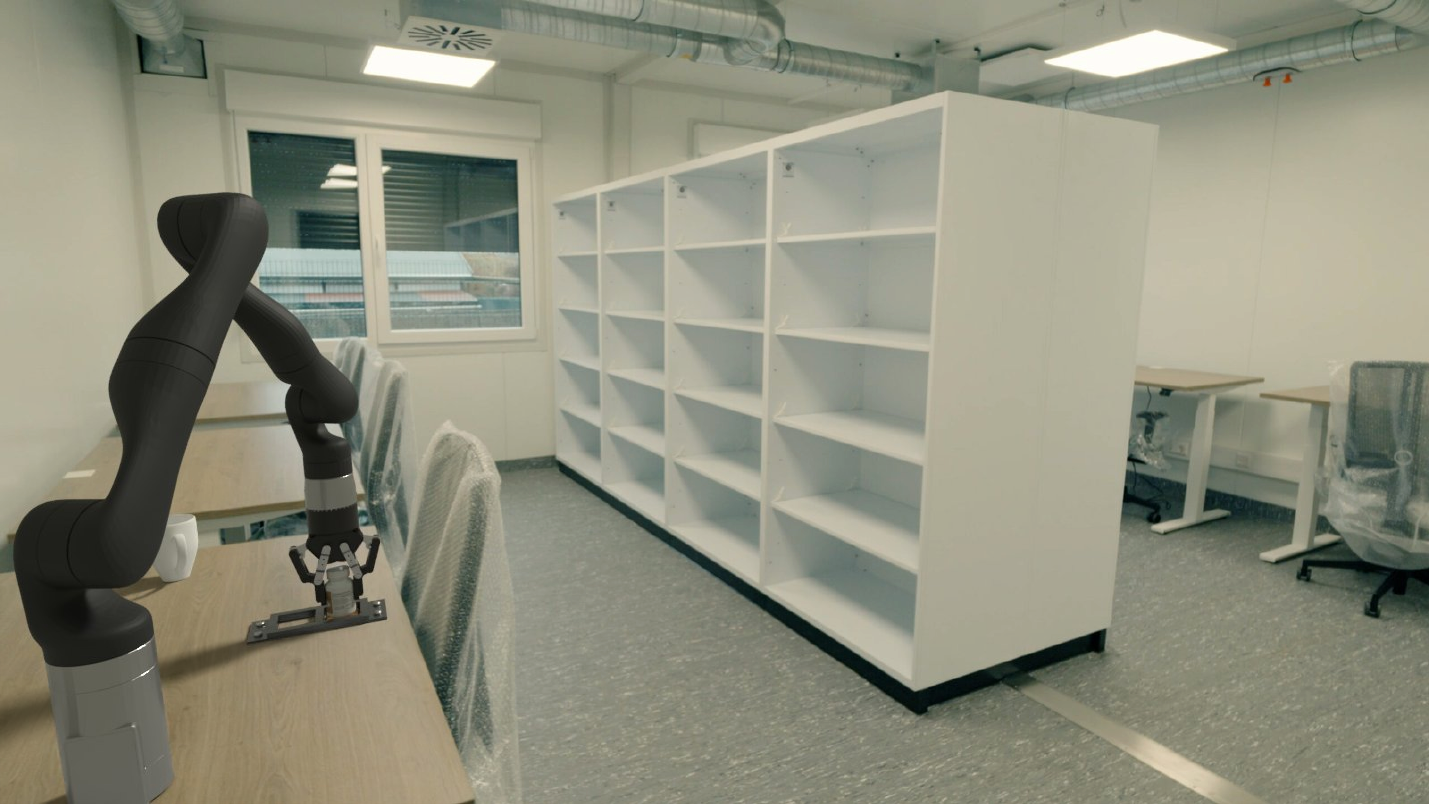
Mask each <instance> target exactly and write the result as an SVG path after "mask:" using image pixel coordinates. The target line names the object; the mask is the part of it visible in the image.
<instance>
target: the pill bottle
mask: <svg viewBox="0 0 1429 804" xmlns="http://www.w3.org/2000/svg"><path fill="white" fill-rule="evenodd" d="M350 570H351V569H350V567H349V565H348V564H337V565H333V566H330V567H328V568H327V569H326V570H325V573H326V580H327V581H326V582H324V583H325V585H324V588H325V598H326V609H327V614H326V615H328V616H329V617H333V618H339V617H344V616H348V615H350V614H352V613H354V612H355V610H356V602H355V595H354V584H353V577H350V576H351V575H350V573H351V572H350Z"/></svg>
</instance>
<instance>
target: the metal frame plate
mask: <svg viewBox="0 0 1429 804" xmlns="http://www.w3.org/2000/svg"><path fill="white" fill-rule="evenodd" d="M355 602H356V610H355V612H354V613H352V614H350V615H348V616H344V617H339V618H333V617H329V616H328V615H327V609H326V605H324V606H321V605H317V606H310V607H305V608H298V609H292V610H287V611H282V612H276V613H271V614H270V615H269V618H268V619H262V620H255V621H252V622H251V626H250V628H249V632H248V637H247V641H246V645H247V646H248V645H252V644H253V645H254V644H259V643H264V642H269V641H275V640H279V639H286V638H291V637H296V636H301V635H308V634H312V633H318V632H323V631H327V630H328V631H329V630H334V629H339V628H346V627H351V626H356V625H361V624H368V623H373V622H378V621H382V620H383V621H384V620H388V613H387V607H386V599H385V598H382V599H376V600H370V601H369V600H368V597H363V598H359V600H355ZM358 610H360V613H359V611H358ZM325 615H327V617H326V620H325ZM312 617H315V618H314V622H308V623H303V624H295V625H290V626H286V627H281V628H279V626H280V623H282V622H283V623H284V622H288V621H289V622H290V621H295V620H302V619H305V618H312Z"/></svg>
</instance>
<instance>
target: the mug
mask: <svg viewBox="0 0 1429 804" xmlns="http://www.w3.org/2000/svg"><path fill="white" fill-rule="evenodd" d="M197 526H198V524H197V519H196V516H195V515H194V514H191V513H173V514H169V517H168V521H167V525H166V529H165V533H164V537H163V540H162V544H161V547H160V549H159V552H158V554H157V556H156V559H155V561H154V563H153V564H152V566H153V568H154V570H155V571H156V573H157V574H158V576H159V577H160V579H161V580H162V581H163V582H164V583H173V582H180V581H182V580H185V579H187V578H189V577H190V576H191V575H192V574H191V573H192V569H193V568H194V567H193V566H194V563H195V560H196V556H197V553H198V550H199V549H198V548H199V534H198V527H197Z"/></svg>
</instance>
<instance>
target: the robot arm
mask: <svg viewBox="0 0 1429 804" xmlns="http://www.w3.org/2000/svg"><path fill="white" fill-rule="evenodd" d="M156 227H157V231H158V235H159V238H160V240H161V242H162V244H163V246H164V247H165V248H166V250H167V251H168V253H169V254H170V256H171V257H172V258H173V259H174V260H175V261H176V262H177V263H178V264H179V265H180V267H181V268H182V269H183V270H184V271H185V272H186V273H187V274H188V275H187V276H186V278H185V279H184V280H183V281H182V282H181V283H180V284H178V286H177V287H175V288H174V289H173V290H172V291H170V293H168V294H167V295H166V296H165V297H163V298H162V299H161V300H160V301H159V302H157V303H156V304H155V305H154V306H153V307H152V308H151V309H149V311H147V312H146V313H145V314H143V316H142V317H141V318H140V319H139V320H138V321H137V322H136V323H135V324H134V326H132V328H131V329H130V331H129V333H128V334H127V337H126V338H125V339H124V342H123V344H122V346H121V349H120V351H119V353H118V355H117V358H116V359H115V363H114V364H113V367H112V369H111V372H110V375H109V379H108V383H107V384H108V388H107V390H108V391H107V392H108V398H109V402H110V406H111V409H112V413H113V416H114V419H115V422H116V424H117V426H118V430H119V433H120V437H121V443H122V454H121V458H120V463H119V465H118V469H117V472H116V475H115V478H114V480H113V483H112V486H111V487H110V489H109V491H108V494H107V496H106V497H105V498H67V499H65V498H64V499H53V500H49V501H45V502H42V503H41V504H38V505H37V506H35V507H34V508H32V509H31V510H29V511H28V512H27V513H26V514H25V516H24V517H23V518H22V519H21V521H20V522H19V525H18V526H17V528H16V532H15V534H14V540H13V545H12V546H13V547H12V558H13V568H14V574H15V578H16V582H17V583H16V584H17V586H18V591H19V594H20V599H21V603H22V607H23V611H24V614H25V620H26V623H27V628H28V631H29V633H30V635H31V637H32V639H33V640H34V641H35V642H36V643H37V644H38V646H39V647H40V648H41V651H42V655H43V660H44V664H45V671H46V678H47V683H48V690H49V696H50V697H49V698H50V703H51V710H52V715H53V721H54V727H55V729H54V730H55V735H56V740H57V746H58V747H57V748H58V751H59V759H60V765H61V772H62V777H63V783H64V789H65V794H66V795H65V796H66V802H67V804H150V803H151V802H152V801H153V800H154V799H156V798H157V797H159V796H160V795H161V794H162V793H164V791H165V790H167V788H168V787H169V786H170V785H171V783H172V782H173V779H174V776H175V775H174V768H173V767H174V766H173V759H172V753H171V745H170V738H169V737H170V736H169V730H168V724H167V716H166V709H165V708H166V707H165V703H164V694H163V688H162V687H163V686H162V680H161V673H160V665H159V664H160V663H159V659H158V658H159V656H158V648H157V642H156V635H155V627H154V621H153V616H152V614H151V612H150V610H149V609H148V608H147V607H145V606H144V605H142V604H139V603H137V602H134V601H132V600H130V599H128V598H125V597H124V596H122V595H120V594H119V593H117V592H116V591H114V590H113V589H122V588H127V587H131V586H132V585H134V584H136V583H138V582H139V581H140V580H141V579H142V578H143V579H144V577H145V576H146V574H147V573H148V572H149V570H150V569H151V568H152V566H153V565H152V564H153V563H154V561H155V559H156V556H157V554H158V552H159V549H160V547H161V544H162V540H163V537H164V533H165V529H166V525H167V521H168V517H169V515H170V513H171V508H172V505H173V504H172V503H173V499H174V497H175V496H174V494H175V491H176V488H177V487H176V486H177V481H178V478H179V473H180V469H181V466H182V463H183V461H184V460H183V459H184V456H185V454H186V450H187V446H188V443H189V441H190V438H191V435H192V431H193V428H194V427H195V422H196V419H197V417H198V415H199V412H200V410H201V407H202V404H203V402H204V400H205V397H206V395H207V394H208V393H207V392H208V390H209V387H210V384H211V381H212V378H213V375H214V373H215V369H216V367H217V365H218V361H219V357H220V354H221V351H222V348H223V344H224V342H225V340H226V337H227V335H228V332H229V331H230V327H231V325H232V322H233V321H234V322H235V323H236V324H237V325H238V326H239V327H240V329H241V330H242V331H243V332H244V334H245V335H246V336H247V337H248V338H249V340H250V341H251V342H252V344H253V345H254V346H255V348H256V349H257V351H258V352H259V354H260V356H261V357H262V359H263V360H264V361H265V364H267V365H268V368H269V369H270V370H271V372H272V373H273V374H274V376H275V377H276V378H277V379H278V380H279V381H281V382H282V383H283V384H286V385H290V386H289V387H288V389H287V391H286V393H285V398H284V408H285V414H286V417H287V419H288V423H289V426H290V427H291V429H292V432H293V434H294V438H295V439H296V441H297V444H298V446H299V449H300V451H301V455H302V464H303V465H302V466H303V467H302V468H303V477H304V485H303V486H304V488H303V492H304V493H303V494H304V503H305V514H306V515H305V516H306V525H307V535H308V537H307V539H306V541H305V543H303V544H300V545H298V546H297V545H292V546H290V547H289V550H288V557H289V559H290V561H291V563H292V565H293V567H294V569H295V571H296V573H297V575H298V577H299V580H300V582H301V583H302V584H312V585H314V594H315V601H316V603H317V604H319V603H320V606H324V605H326V598H325V588H324V585H325V583H326V582H325V579H324V576H325V573H326V570H327V569H326V568H327V565H331V564H334V563H337V562H338V563H344V562H346V563H347V566H349V569H350V570H351V572H352V574H353V575H352V579H353V584H354V595H355V600H359V599H360V597H361V596H363V595H364V584H363V583H364V582H363V581H364V580H363V577H364V576H366V575H367V574H372V573H374V570H375V565H376V562H377V558H378V554H379V550H380V545H381V537H380V535H379V534H373V535H366V534H364V533H363V531H362V530H361V528H360V518H359V507H358V505H359V504H358V491H357V485H356V481H355V477H354V472H353V459H352V448H351V443H350V442H349V439H346V438H345V437H342V436H340V435H336V434H333V433H331V432H330V431H329V429H328V428H327V425H328V424H329V425H330V424H331V425H334V424H335V425H341V424H345V423H348V422H349V421H351V420H352V419H353V418H354V417H355V416H356V415H357V413H358V411H359V410H358V409H359V404H360V403H359V401H360V400H359V395H358V393H357V389H356V387H355V386H354V384H353V383H352V381H351V380H350V379H349V378H348V377H347V376H346V375H345V374H344V373H343V372H342V371H341V370H340V369H339V368H337V367H336V366H335V365H334V364H333V363H332V362H331V361H330V360H329V359H327V358H326V357H325V356H324V355H323V354H322V353H321V352H320V350H319V348H318V346H317V344H316V343H315V342H314V340H313V338H312V337H311V335H310V333H309V332H308V330H307V328H306V327H305V325H304V324H303V323H302V322H301V321H300V320H299V318H298V317H297V316H296V315H295V314H293V312H292V311H290V310H288V308H287V307H285V305H282V304H281V303H279V301H277V300H275V298H272V297H271V296H269V295H268V294H267V293H265V292H263V291H262V290H261V289H260V288H259V287H258V286H257V285H255V284H253V282H252V279H253V278H254V275H255V274H256V272H257V271H258V268H259V266H260V264H261V262H262V260H263V257H264V255H265V252H266V250H267V246H268V241H269V235H270V229H269V219H268V217H267V213H266V211H265V209H264V207H263V206H262V204H261V203H260V202H259V201H258V200H257V199H256V198H254V197H252V196H250V195H249V194H245V193H242V192H229V191H228V192H227V191H221V192H211V193H198V194H186V195H179V196H178V195H177V196H174V197H171V198H169V199H167V200H165V202H163V203H162V204H161V205H160V207H159V210H158V212H157V217H156ZM326 424H327V425H326ZM362 543H364V544H365V548H366V549H367V550H368V552H367V556H366V562H365V564H361V565H360V563H359V560H358V557H357V555H356V552H357V551H358V549H359V548H360V546H361V545H362ZM307 551H309V552H310V553H311V554H312V555H313V556H314V557H315V558H316V559H318V560H317V564H316V569H315V572H310V570H309V567H308V566H307V565H306V562H305V560H304V559H305V557H306V552H307Z"/></svg>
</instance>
